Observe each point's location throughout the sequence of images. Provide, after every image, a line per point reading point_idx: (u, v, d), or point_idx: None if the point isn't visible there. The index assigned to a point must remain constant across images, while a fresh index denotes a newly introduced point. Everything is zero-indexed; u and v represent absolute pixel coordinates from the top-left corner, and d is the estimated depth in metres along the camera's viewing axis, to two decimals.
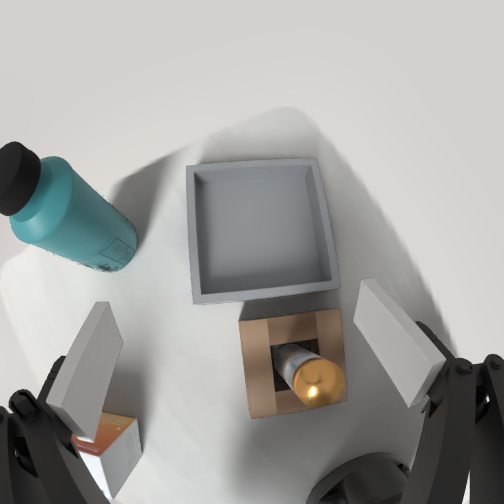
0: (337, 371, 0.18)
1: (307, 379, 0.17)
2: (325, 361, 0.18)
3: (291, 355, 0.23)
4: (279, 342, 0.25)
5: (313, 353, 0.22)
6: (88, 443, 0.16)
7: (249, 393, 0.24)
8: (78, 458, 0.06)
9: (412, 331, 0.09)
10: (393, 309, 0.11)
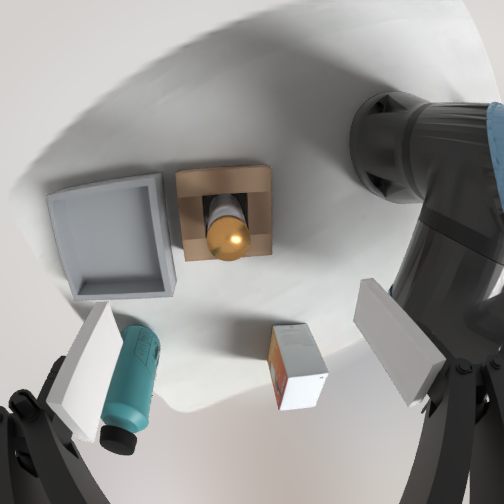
0: (218, 226, 0.22)
1: (222, 252, 0.23)
2: (207, 237, 0.22)
3: None
4: (203, 230, 0.30)
5: (209, 218, 0.26)
6: (282, 377, 0.33)
7: (247, 255, 0.32)
8: (78, 458, 0.06)
9: (412, 331, 0.09)
10: (393, 309, 0.11)
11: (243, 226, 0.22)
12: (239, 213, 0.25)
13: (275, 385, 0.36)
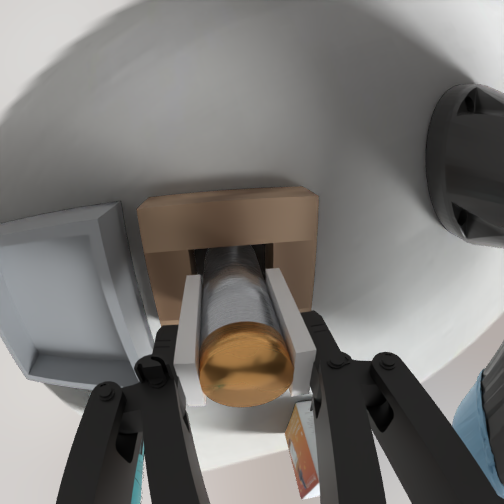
0: (224, 361, 0.09)
1: (233, 396, 0.10)
2: (201, 377, 0.09)
3: None
4: None
5: (203, 306, 0.13)
6: (309, 474, 0.20)
7: None
8: (189, 433, 0.08)
9: (291, 318, 0.11)
10: (282, 297, 0.12)
11: (281, 356, 0.09)
12: (264, 301, 0.12)
13: (297, 471, 0.23)
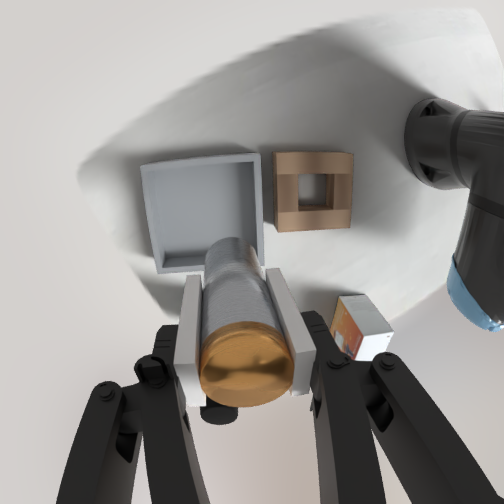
0: (225, 360, 0.09)
1: (234, 397, 0.10)
2: (202, 377, 0.09)
3: None
4: (296, 204, 0.34)
5: (204, 306, 0.13)
6: (355, 339, 0.36)
7: (331, 227, 0.35)
8: (189, 433, 0.08)
9: (291, 318, 0.11)
10: (282, 297, 0.12)
11: (282, 356, 0.09)
12: (265, 301, 0.12)
13: (343, 350, 0.40)
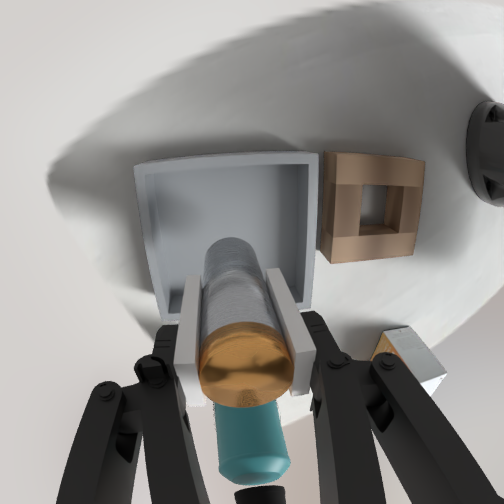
0: (224, 361, 0.09)
1: (233, 397, 0.10)
2: (201, 377, 0.09)
3: None
4: (357, 226, 0.24)
5: (203, 306, 0.13)
6: None
7: (393, 255, 0.25)
8: (189, 432, 0.08)
9: (291, 318, 0.11)
10: (282, 297, 0.12)
11: (281, 357, 0.09)
12: (264, 301, 0.12)
13: None
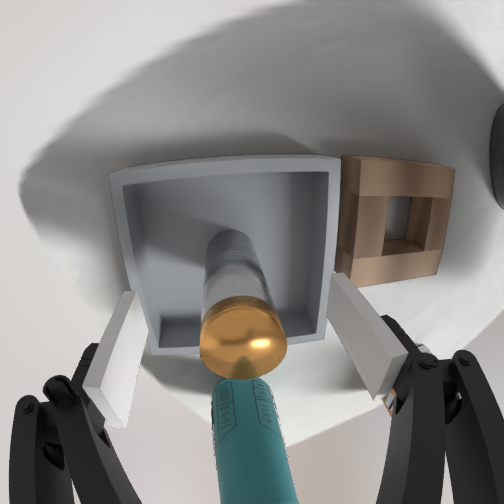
0: (222, 328, 0.10)
1: (230, 368, 0.11)
2: (201, 346, 0.10)
3: None
4: (381, 245, 0.19)
5: (204, 288, 0.14)
6: None
7: (416, 276, 0.21)
8: (110, 447, 0.07)
9: (375, 324, 0.10)
10: (359, 302, 0.12)
11: (274, 325, 0.10)
12: (260, 281, 0.13)
13: None
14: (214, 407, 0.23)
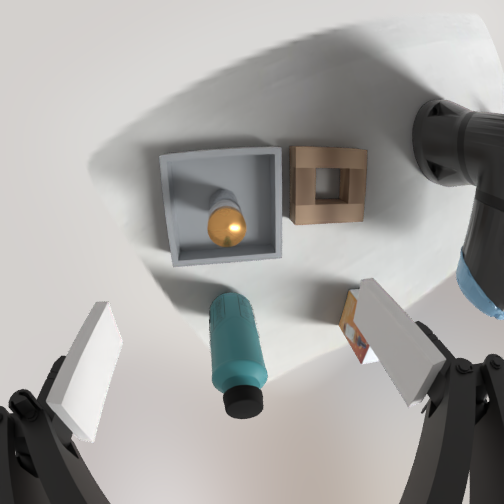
0: (217, 216, 0.25)
1: (221, 238, 0.26)
2: (208, 225, 0.25)
3: None
4: (314, 197, 0.34)
5: (209, 210, 0.29)
6: None
7: (345, 221, 0.36)
8: (78, 458, 0.06)
9: (412, 331, 0.09)
10: (393, 309, 0.11)
11: (239, 215, 0.25)
12: (236, 205, 0.28)
13: (355, 342, 0.40)
14: (211, 313, 0.38)
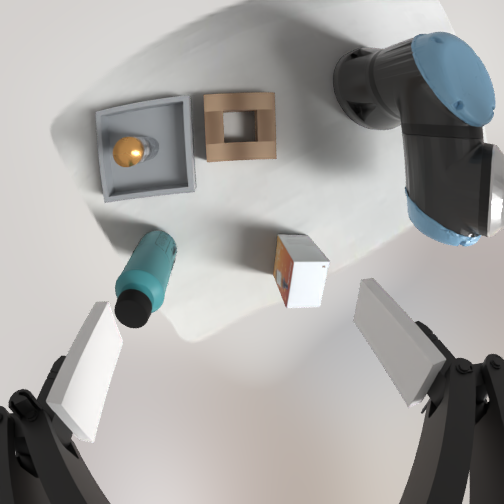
0: (119, 142, 0.27)
1: (122, 160, 0.28)
2: (113, 150, 0.27)
3: None
4: (222, 136, 0.36)
5: None
6: (288, 268, 0.39)
7: (257, 158, 0.38)
8: (78, 458, 0.06)
9: (412, 331, 0.09)
10: (393, 309, 0.11)
11: (136, 140, 0.27)
12: (142, 138, 0.30)
13: (282, 286, 0.42)
14: (137, 247, 0.40)
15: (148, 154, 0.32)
